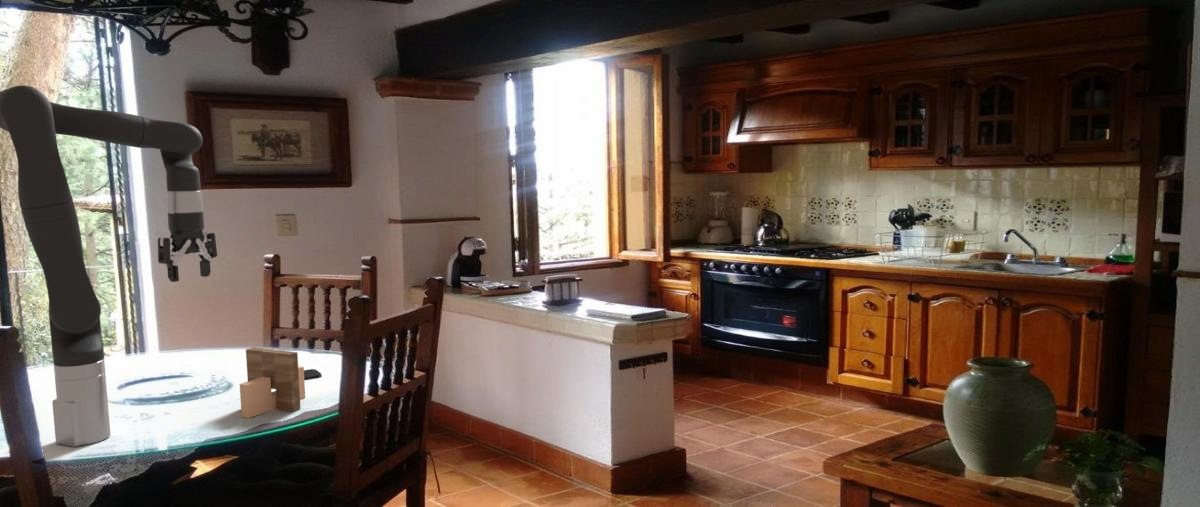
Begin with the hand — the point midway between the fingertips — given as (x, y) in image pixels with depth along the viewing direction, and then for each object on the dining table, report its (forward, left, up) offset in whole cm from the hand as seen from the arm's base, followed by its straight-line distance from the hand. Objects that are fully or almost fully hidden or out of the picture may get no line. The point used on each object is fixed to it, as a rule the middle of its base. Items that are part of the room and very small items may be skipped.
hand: (190, 278), depth 194 cm
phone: (+31, +1, -33) cm, 45 cm away
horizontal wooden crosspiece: (+9, -15, -32) cm, 36 cm away
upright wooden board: (+9, -15, -32) cm, 36 cm away
